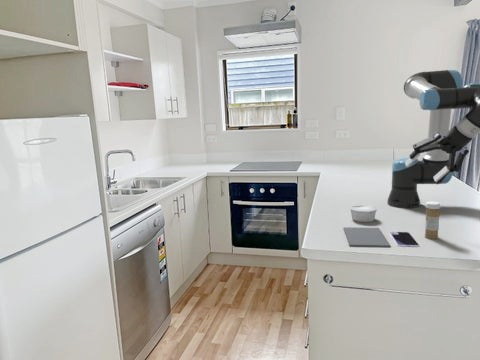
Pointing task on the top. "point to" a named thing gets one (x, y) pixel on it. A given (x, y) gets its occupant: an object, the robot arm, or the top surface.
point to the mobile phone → (403, 239)
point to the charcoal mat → (366, 237)
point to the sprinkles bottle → (432, 220)
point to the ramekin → (363, 213)
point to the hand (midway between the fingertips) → (420, 172)
